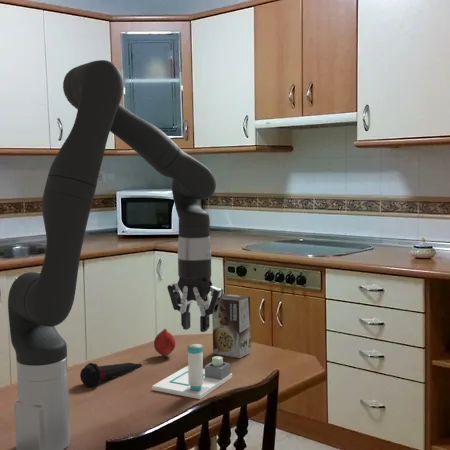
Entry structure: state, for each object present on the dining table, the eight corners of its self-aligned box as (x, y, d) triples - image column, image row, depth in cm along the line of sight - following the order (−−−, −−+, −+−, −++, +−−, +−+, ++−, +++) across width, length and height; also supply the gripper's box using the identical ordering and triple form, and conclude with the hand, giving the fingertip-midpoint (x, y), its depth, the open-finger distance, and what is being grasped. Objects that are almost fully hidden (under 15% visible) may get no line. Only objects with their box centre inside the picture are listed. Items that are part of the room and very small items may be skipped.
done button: (219, 369, 156) (219, 360, 156) (210, 368, 157) (210, 358, 157) (224, 366, 158) (224, 357, 158) (215, 365, 159) (215, 355, 159)
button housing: (221, 380, 155) (221, 368, 154) (204, 377, 157) (204, 366, 157) (230, 374, 159) (230, 363, 159) (213, 371, 161) (213, 360, 161)
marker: (198, 392, 146) (197, 349, 145) (185, 390, 148) (184, 347, 147) (206, 387, 149) (205, 345, 148) (193, 385, 151) (192, 343, 150)
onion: (150, 359, 174) (150, 330, 173) (159, 352, 180) (158, 324, 179) (170, 360, 173) (170, 331, 172) (178, 354, 178) (178, 326, 177)
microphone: (135, 377, 170) (77, 390, 153) (132, 355, 171) (73, 366, 154) (150, 374, 167) (92, 387, 150) (146, 352, 168) (88, 363, 151)
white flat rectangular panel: (200, 399, 145) (200, 394, 145) (152, 389, 151) (152, 384, 151) (232, 377, 160) (232, 372, 159) (187, 369, 165) (187, 365, 165)
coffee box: (251, 352, 179) (251, 296, 178) (239, 358, 174) (239, 300, 172) (224, 347, 184) (223, 292, 182) (211, 353, 179) (211, 296, 177)
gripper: (159, 256, 145) (160, 330, 147) (214, 260, 139) (214, 338, 141) (176, 251, 152) (177, 322, 154) (230, 255, 145) (230, 329, 147)
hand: (195, 329), depth 147 cm, fingers open, 4 cm apart
